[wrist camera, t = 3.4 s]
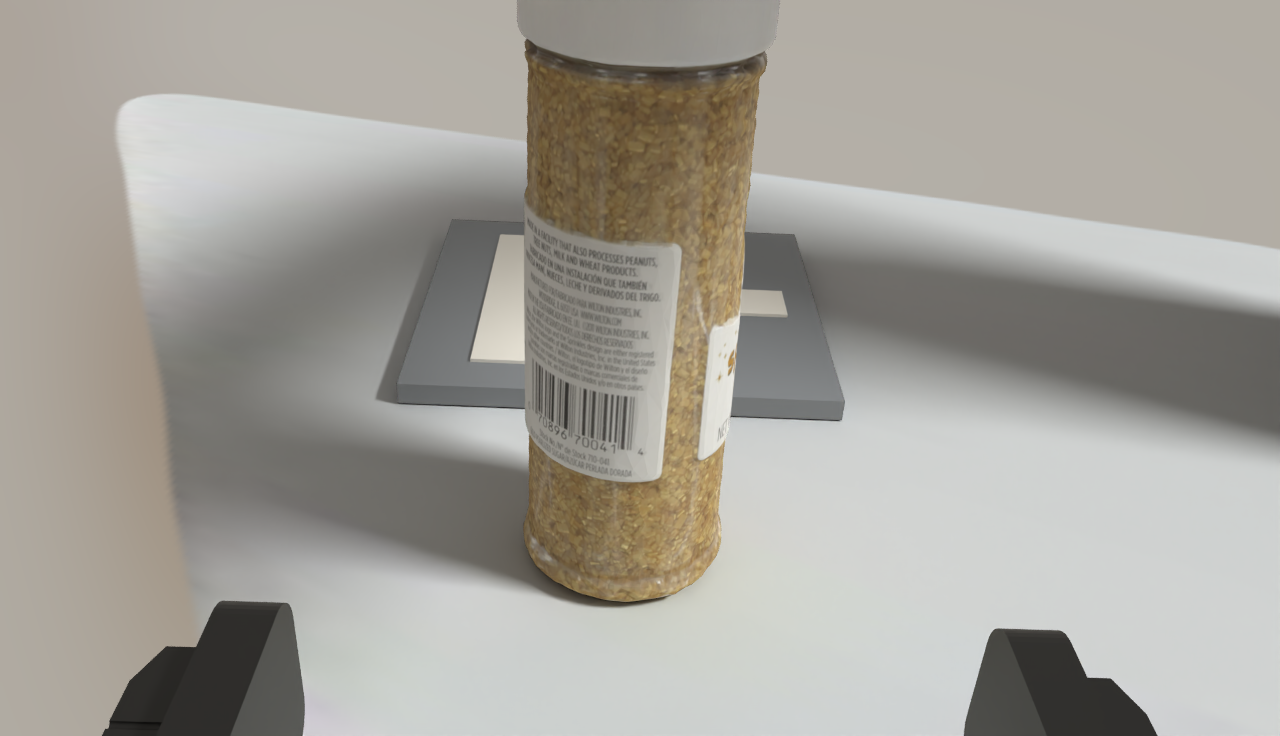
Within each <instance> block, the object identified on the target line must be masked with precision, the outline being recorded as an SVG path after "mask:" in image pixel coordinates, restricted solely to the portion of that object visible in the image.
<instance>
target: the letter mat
mask: <svg viewBox="0 0 1280 736" xmlns="http://www.w3.org/2000/svg"><path fill="white" fill-rule="evenodd" d="M744 239H745V255H744V273H743V284H742V292H741V303H740V323H739V332H738V340H737V353H736V365H735V376H734V386H733V396H732V406H731V416H748V417H774V418H800V419H825V420H842V416H843V410H844V404H845V400H844V397H843V393H842V390H841V387H840V384H839V380H838V377H837V374H836V370H835V367H834V364H833V360H832V357H831V354H830V351H829V347H828V344H827V341H826V337H825V334H824V331H823V327H822V324H821V321H820V317H819V314H818V311H817V308H816V304H815V301H814V298H813V294H812V291H811V288H810V284H809V281H808V278H807V275H806V271H805V268H804V265H803V261H802V258H801V255H800V251H799V248H798V245H797V241H796V238H795V235H794V234H771V233H748V232H744ZM397 397H398V403H414V404H440V405H465V406H491V407H517V408H525V337H524V223H521V222H499V221H476V220H453V219H452V222H451V224H450V227H449V230H448V233H447V236H446V239H445V242H444V245H443V248H442V251H441V254H440V257H439V260H438V263H437V266H436V269H435V272H434V275H433V278H432V281H431V284H430V287H429V290H428V292H427V295H426V298H425V301H424V304H423V307H422V310H421V313H420V316H419V319H418V322H417V325H416V328H415V331H414V334H413V337H412V340H411V343H410V346H409V349H408V352H407V355H406V358H405V360H404V363H403V366H402V369H401V372H400V375H399V378H398V381H397Z"/></svg>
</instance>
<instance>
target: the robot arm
mask: <svg viewBox="0 0 1280 736" xmlns="http://www.w3.org/2000/svg"><path fill="white" fill-rule="evenodd" d="M304 715H305V703H304V692H303V685H302V677H301V670H300V663H299V656H298V649H297V641H296V634H295V627H294V620H293V614H292V610H291V607H290V605H289V604H288V603H273V602H242V601H221V602H219V603H218V604H217V605H216V606H215V608H214V609H213V611H212V613H211V616H210V618H209V620H208V622H207V624H206V627H205V629H204V631H203V633H202V635H201V638H200V640H199V642H198V644H197V646H196V647H168V646H167V647H165V648H164V649H163V650H162V651H161V652H160V653H159V654H158V655H157V656H156V657H155V658H154V659H153V660H152V661H150V662H149V663H148V664H147V665H146V666H145V667H144V668H143V669H142V670H141V671H140V672H139V673H138V674H136V675H135V676H134V677H133V678H132V679H131V680H130V681H129V683H128V686H127V687H126V689H125V691H124V693H123V695H122V697H121V699H120V701H119V703H118V705H117V707H116V709H115V711H114V713H113V715H112V717H111V719H110V725H109V728H108V729H105V731H104V733H103V735H102V736H302V735H303V727H304ZM964 736H1157V734H1156V732H1155V730H1154V728H1153V726H1152V724H1151V722H1150V720H1149V718H1148V716H1147V714H1146V713H1145V712H1144V711H1143V710H1142V709H1141V708H1140V707H1139V706H1138V705H1137V704H1136V703H1135V702H1134V701H1133V700H1132V699H1131V698H1130V697H1129V696H1128V695H1127V694H1126V693H1125V692H1124V691H1123V690H1122V689H1121V688H1120V687H1119V686H1118V685H1117V684H1116V683H1115V682H1114V681H1113V680H1112V679H1110V678H1087V676H1086V674H1085V672H1084V669H1083V667H1082V665H1081V663H1080V661H1079V659H1078V657H1077V654H1076V652H1075V650H1074V648H1073V646H1072V644H1071V642H1070V640H1069V638H1068V637H1067V636H1066V634H1065V633H1063V632H1062V631H1058V630H1027V629H995V630H993V632H992V633H991V635H990V636H989V639H988V642H987V645H986V649H985V653H984V656H983V660H982V663H981V667H980V671H979V674H978V678H977V681H976V685H975V689H974V692H973V696H972V699H971V703H970V706H969V710H968V714H967V717H966V722H965V729H964Z"/></svg>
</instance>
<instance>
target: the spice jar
mask: <svg viewBox="0 0 1280 736" xmlns="http://www.w3.org/2000/svg"><path fill="white" fill-rule="evenodd" d="M779 5H780V0H517V22H518V27H519V29H520V31H521V33H522V34H523V36H524V37H526V38H527V39H526V41H525V48H526V51H525V57H526V60H527V62H528V70H529V72H528V96H527V100H528V101H527V102H528V115H527V125H528V133H527V153H528V155H527V163H528V169H527V180H528V186H527V188H526V191H525V194H524V337H525V420H526V426H527V429H528V432H529V472H530V475H529V507H528V511H527V514H526V519H525V522H524V527H523V531H524V540H525V544H526V547H527V549H528V551H529V554H530V556H531V558H532V560H533V561H534V563H535V565H536V566H537V567H538V568H539V569H541V570H542V571H543V572H544V573H545V574H546V575H547V576H548V577H550V578H552V579H553V580H554V581H555V582H558V583H560V584H562V585H564V586H565V587H567V588H569V589H571V590H574V591H576V592H578V593H581V594H585V595H589V596H593V597H596V598H600V599H605V600H612V601H622V602H630V601H639V600H646V599H653V598H658V597H664V596H669V595H672V594H676V593H677V592H678V591H680V590H681V589H683V588H685V587H686V586H689V585H691V584H693V583H694V582H695V581H696V580H697V579H698V578H700V577H701V576H702V575H703V573H704V572H705V570H706V569H707V567H708V566H709V565H710V564H711V563H712V561H713V560H714V558H715V557H716V556H717V553H718V550H719V547H720V543H721V523H720V517H719V514H718V507H719V496H720V485H721V479H722V469H723V453H724V446H725V439H726V436H727V434H728V430H729V425H730V416H731V406H732V396H733V386H734V376H735V365H736V353H737V340H738V332H739V323H740V303H741V292H742V284H743V273H744V255H745V239H744V231H745V224H746V216H747V214H746V206H747V199H748V195H749V190H750V176H751V167H752V151H753V146H754V133H755V127H756V118H755V115H756V109H757V100H758V96H759V79H760V76H761V75H762V74H763V73H764V72H765V69H766V66H767V56H766V53H765V50H767V49H768V48H770V46H771V45H772V44H773V42H774V40H775V38H776V31H777V23H778V14H779Z"/></svg>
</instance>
